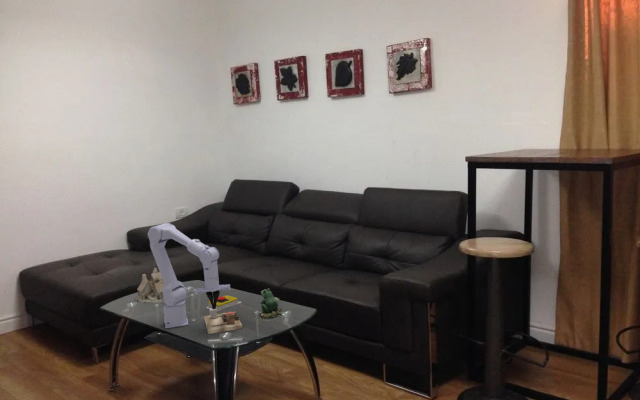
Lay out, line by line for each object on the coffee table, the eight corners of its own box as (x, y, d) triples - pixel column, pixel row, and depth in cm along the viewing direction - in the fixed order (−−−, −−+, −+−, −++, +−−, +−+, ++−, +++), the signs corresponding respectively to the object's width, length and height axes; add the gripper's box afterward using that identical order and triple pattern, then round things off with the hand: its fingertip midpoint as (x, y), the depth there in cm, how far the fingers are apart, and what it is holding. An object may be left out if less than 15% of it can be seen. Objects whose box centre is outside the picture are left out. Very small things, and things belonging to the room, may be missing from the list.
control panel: (208, 334, 223) (207, 327, 223) (204, 319, 240) (203, 313, 240) (242, 328, 227) (241, 321, 227) (235, 314, 244) (235, 308, 244)
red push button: (226, 320, 232) (225, 315, 232) (225, 317, 236) (224, 312, 236) (235, 318, 234) (235, 314, 233) (234, 315, 237) (233, 311, 237)
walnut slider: (227, 324, 228) (226, 316, 227) (226, 322, 231) (226, 314, 230) (234, 323, 229) (234, 315, 228) (233, 320, 231) (233, 313, 231)
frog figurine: (275, 304, 255) (274, 280, 254) (299, 313, 242) (297, 288, 240) (243, 314, 244) (241, 289, 242) (266, 324, 230) (264, 298, 229)
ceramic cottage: (134, 298, 277) (133, 269, 274) (167, 292, 285) (166, 265, 282) (141, 308, 264) (139, 278, 261) (175, 302, 272) (173, 273, 269)
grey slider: (210, 318, 236) (210, 310, 235) (210, 316, 239) (209, 308, 238) (217, 317, 237) (217, 309, 236) (216, 315, 240) (216, 307, 239)
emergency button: (204, 299, 255) (229, 291, 266) (205, 308, 256) (230, 300, 267) (216, 303, 249) (242, 294, 260) (217, 312, 250) (242, 303, 260)
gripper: (194, 282, 221) (197, 314, 223) (230, 277, 225) (232, 308, 227) (193, 277, 227) (195, 308, 229) (227, 272, 231) (230, 303, 233)
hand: (214, 308), depth 229 cm, fingers closed
